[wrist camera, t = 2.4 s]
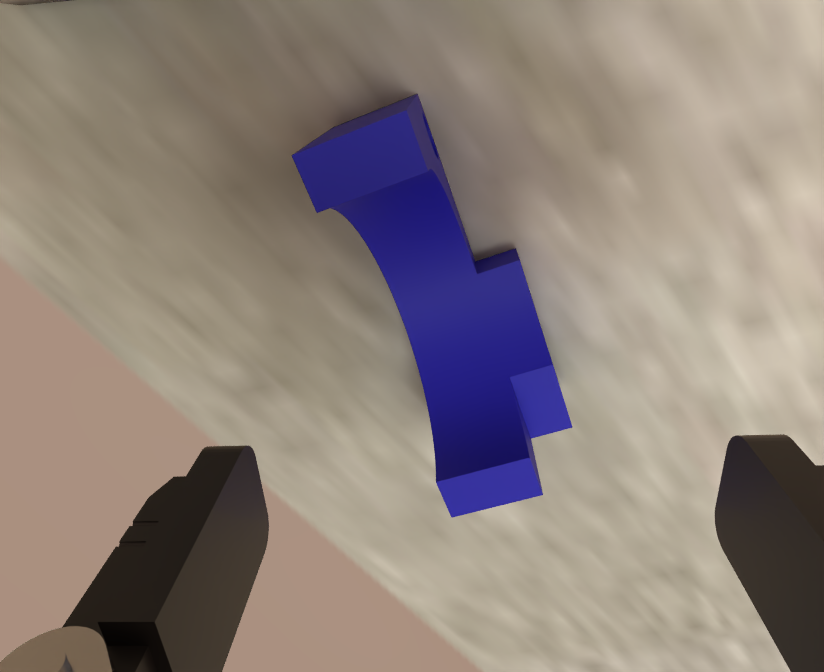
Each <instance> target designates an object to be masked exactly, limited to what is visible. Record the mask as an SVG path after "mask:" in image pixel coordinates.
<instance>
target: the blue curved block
mask: <svg viewBox="0 0 824 672" xmlns="http://www.w3.org/2000/svg"><path fill="white" fill-rule="evenodd" d="M292 158H293V160H294V162H295V164H296V167H297V169H298V171H299V173H300V176H301V178H302V180H303V183H304V185H305V187H306V189H307V192H308V194H309V196H310V198H311V201H312V203H313V205H314V207H315V210H316V212H317V213H318V212H321V211H323V210H326V209H329V208H332V209H334V210H336V211H338V212H339V213H341V214H342V215H343V216H344V217H345V218H347V219H348V220H349V222H350V223H351V224H352V225H353V226H354V227H355V229H356V230H357V231H358V232H359V234H360V235H361V237H362V238H363V240H364V241H365V243H366V244H367V246H368V248H369V249H370V251H371V253H372V254H373V256H374V258H375V260H376V261H377V263H378V265H379V267H380V269H381V271H382V273H383V275H384V277H385V279H386V282H387V284H388V286H389V288H390V290H391V293H392V295H393V297H394V300H395V302H396V305H397V307H398V310H399V312H400V315H401V317H402V320H403V323H404V326H405V328H406V331H407V334H408V337H409V340H410V343H411V346H412V349H413V352H414V356H415V359H416V362H417V366H418V369H419V373H420V377H421V381H422V384H423V389H424V393H425V397H426V402H427V406H428V411H429V416H430V422H431V428H432V434H433V442H434V450H435V461H436V483H437V485H438V488H439V490H440V492H441V495H442V497H443V499H444V501H445V504H446V506H447V508H448V510H449V513H450V515H451V517H456V516H460V515H464V514H468V513H472V512H476V511H480V510H484V509H488V508H492V507H496V506H500V505H504V504H508V503H512V502H516V501H520V500H524V499H528V498H532V497H536V496H540V495H543V493H542V488H541V483H540V479H539V474H538V469H537V465H536V460H535V455H534V451H533V446H532V442H531V438H535V437H538V436H542V435H546V434H549V433H553V432H557V431H561V430H564V429H568V428H572V425H571V421H570V418H569V415H568V412H567V408H566V405H565V402H564V399H563V396H562V392H561V389H560V386H559V383H558V380H557V376H556V373H555V370H554V367H553V364H552V360H551V357H550V354H549V351H548V348H547V345H546V342H545V338H544V335H543V332H542V329H541V326H540V323H539V320H538V316H537V313H536V310H535V307H534V304H533V301H532V297H531V294H530V291H529V288H528V285H527V282H526V278H525V275H524V272H523V269H522V266H521V262H520V259H519V256H518V253H517V251H516V248H515V249H512V250H509V251H506V252H503V253H500V254H497V255H494V256H491V257H488V258H485V259H482V260H479V261H476V262H475V259H474V256H473V253H472V250H471V248H470V245H469V242H468V239H467V236H466V233H465V230H464V227H463V224H462V221H461V218H460V216H459V213H458V210H457V207H456V204H455V201H454V198H453V195H452V192H451V189H450V186H449V184H448V181H447V178H446V175H445V172H444V169H443V166H442V163H441V160H440V157H439V155H438V152H437V149H436V146H435V143H434V140H433V137H432V134H431V131H430V128H429V125H428V123H427V120H426V117H425V114H424V111H423V108H422V105H421V102H420V99H419V96H418V94H416V95H413V96H411V97H408V98H406V99H403V100H401V101H398V102H396V103H393V104H391V105H388V106H386V107H383V108H381V109H378V110H376V111H373V112H371V113H368V114H366V115H363V116H361V117H358V118H356V119H353V120H351V121H348V122H346V123H343V124H341V125H338V126H336V127H333V128H332V129H330V130H329V131H327V132H326V133H324V134H323V135H321V136H320V137H318V138H317V139H315V140H314V141H312V142H311V143H309V144H308V145H306V146H305V147H303V148H302V149H300V150H299V151H297V152H296V153H295V154H293V155H292Z"/></svg>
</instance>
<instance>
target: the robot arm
mask: <svg viewBox="0 0 824 672" xmlns="http://www.w3.org/2000/svg"><path fill="white" fill-rule="evenodd" d="M715 525H716V531H717V535H718V539H719V542H720V544H721V547H722V549H723V551H724V553H725V554H726V556H727V558H728V560H729V562H730V563H731V565H732V567H733V569H734V571H735V572H736V574H737V576H738V578H739V579H740V581H741V583H742V585H743V587H744V588H745V590H746V592H747V594H748V596H749V597H750V599H751V601H752V603H753V605H754V606H755V608H756V610H757V612H758V613H759V615H760V617H761V619H762V621H763V622H764V624H765V626H766V628H767V630H768V631H769V633H770V635H771V637H772V639H773V640H774V642H775V644H776V646H777V648H778V649H779V651H780V653H781V655H782V656H783V658H784V660H785V662H786V664H787V665H788V667H789V669H790V671H791V672H824V465H822V466H815V464H814V463H813V462H812V461H811V460H810V459H809V458H808V457H807V456H806V454H805V453H804V452H803V451H802V450H801V449H800V448H799V447H798V446H797V444H796V443H795V442H794V441H793V440H792V439H791V438H790V437H788V436H787V435H743V436H734V437H732V438H731V440H730V441H729V443H728V446H727V451H726V456H725V461H724V466H723V471H722V476H721V481H720V487H719V492H718V497H717V502H716V507H715ZM268 531H269V522H268V513H267V508H266V503H265V499H264V494H263V489H262V485H261V480H260V475H259V471H258V466H257V461H256V457H255V453H254V451H253V449H252V448H251V447H250V446H213V447H205V448H204V449H203V450H202V451H201V453H200V455H199V456H198V458H197V459H196V461H195V463H194V464H193V466H192V467H191V469H190V471H189V472H188V474H187V476H186V477H173V478H172V479H171V480H169V481H168V482H167V483H166V484H165V485H163V486H162V487H161V488H160V489H158V490H157V491H156V492H155V493H154V494H153V495H151V496H150V497H149V498H148V499H147V501H146V502H145V504H144V505H143V507H142V508H141V510H140V511H139V513H138V514H137V516H136V517H135V519H134V520H133V526H129V528H128V529H127V531H126V532H125V534H124V535H123V537H122V538H121V540H120V544H119V547H115V549H114V550H113V552H112V553H111V555H110V556H109V558H108V560H107V561H106V562H105V564H104V565H103V567H102V569H101V570H100V572H99V573H98V574H97V576H96V578H95V579H94V581H93V582H92V584H91V585H90V587H89V588H88V589H87V591H86V593H85V594H84V596H83V597H82V598H81V600H80V601H79V603H78V605H77V606H76V607H75V609H74V611H73V612H72V614H71V615H70V617H69V618H68V620H67V621H66V623H65V624H64V625H63V627H62V628H59V629H55V630H51V631H48V632H46V633H43V634H41V635H39V636H37V637H35V638H33V639H31V640H29V641H27V642H26V643H24V644H22V645H21V646H19V647H18V648H16V649H15V650H14V651H13V652H11V653H10V654H9V655H7V656H6V657H5V658H4V659H3V660H2V661H1V662H0V672H222V670H223V667H224V664H225V661H226V658H227V656H228V653H229V650H230V648H231V645H232V642H233V639H234V637H235V634H236V631H237V628H238V625H239V623H240V620H241V617H242V614H243V612H244V609H245V606H246V603H247V600H248V598H249V595H250V592H251V589H252V586H253V584H254V581H255V578H256V575H257V573H258V570H259V567H260V564H261V562H262V559H263V556H264V553H265V550H266V546H267V541H268Z"/></svg>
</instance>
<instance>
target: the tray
mask: <svg viewBox="0 0 824 672" xmlns="http://www.w3.org/2000/svg"><path fill="white" fill-rule="evenodd" d="M59 1H70V0H0V3H5V4H15V5H26V4H37V3H48V2H59Z"/></svg>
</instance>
